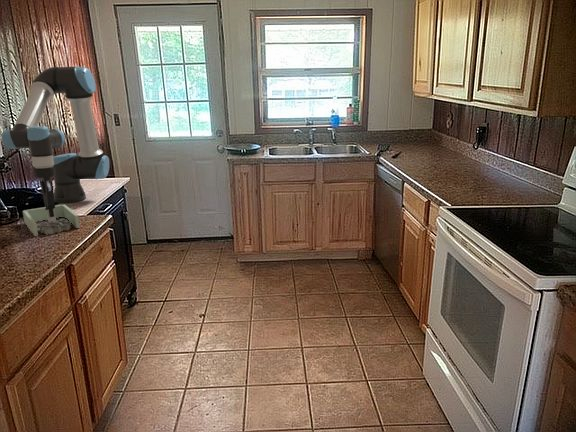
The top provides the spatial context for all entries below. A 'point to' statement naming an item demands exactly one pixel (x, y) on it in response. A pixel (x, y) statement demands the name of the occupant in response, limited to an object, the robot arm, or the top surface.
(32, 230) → the u-shaped frame
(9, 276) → the top surface
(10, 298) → the top surface
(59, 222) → the egg carton
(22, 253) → the top surface
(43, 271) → the top surface
